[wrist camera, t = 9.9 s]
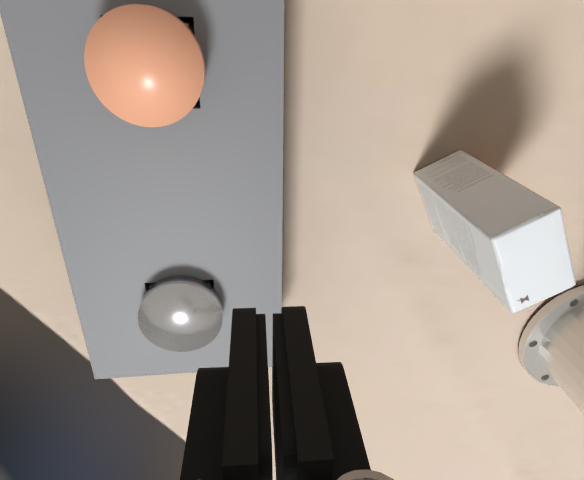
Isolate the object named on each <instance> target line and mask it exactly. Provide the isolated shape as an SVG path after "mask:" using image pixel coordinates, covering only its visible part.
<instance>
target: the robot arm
mask: <svg viewBox="0 0 584 480" xmlns="http://www.w3.org/2000/svg"><path fill="white" fill-rule="evenodd" d="M518 352H519V359H520V362H521V364H522V366H523V367H524V368H525V370H526V371H527V372H528V374H529V375H530V376H531V377H532V378H534V379H535V380H537V381H538V382H541V383H544V384H548V385H555V386H560V387H561V388H562V389H563V390H564V392H565V393H566V394H567V395H568V396H569V397H570V398H571V400H572V401H573V402H574V403H575V404H576V405H577V407H578V408H579V409H580V410H581V411H582V412H583V413H584V285H582V286H579V287H576V288H574V289H571V290H568V291H566V292H565V293H563V294H561V295H559V296H557V297H555V298H554V299H553V300H551V301H550V302H548V303H547V304H546V305H545V306H543V307H542V308H541V309H540V310H539V311H538V312H537V313H536V314H535V315H534V316H533V318H532V319H531V320H530V321H529V323H528V324H527V326H526V328H525V329H524V331H523V334H522V336H521V339H520V342H519V348H518ZM272 404H273V426H274V445H275V463H276V480H394V479H392V478H390V477H388V476H386V475H384V474H382V473H381V472H376V471H372V470H371V469H370V465H369V462H368V458H367V454H366V450H365V447H364V443H363V439H362V435H361V432H360V428H359V424H358V420H357V417H356V413H355V409H354V405H353V402H352V398H351V394H350V391H349V387H348V383H347V379H346V376H345V372H344V368H343V366H342V364H341V362H332V363H316V361H315V356H314V350H313V345H312V340H311V335H310V329H309V324H308V319H307V314H306V309H305V306H298V307H282V308H281V313H273V350H272ZM180 480H272V442H271V421H270V400H269V379H268V358H267V337H266V316H265V314H256V308H233V310H232V325H231V340H230V355H229V367H211V368H198V371H197V375H196V381H195V388H194V394H193V400H192V407H191V413H190V419H189V426H188V432H187V438H186V445H185V451H184V458H183V464H182V471H181V477H180Z"/></svg>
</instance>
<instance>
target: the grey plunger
mask: <svg viewBox="0 0 584 480" xmlns="http://www.w3.org/2000/svg"><path fill="white" fill-rule="evenodd" d="M222 319H223V305H222V301H221V298H220V296H219V294H218V293H217V291H216V290H215V289H214V280H201V279H198V278H195V277H191V276H171V277H167V278H164V279H161V280H159V281H157V282H152V283H150V286H149V289H148V290H147V291H146V292H145V294H144V296H143V298H142V301H141V304H140V307H139V311H138V325H139V328H140V330H141V332H142V333H143V335H144V336H145V337H146V338H147V339H148V340H149V341H150V342H151V343H153V344H154V345H156V346H158V347H160V348H162V349H165V350H169V351H174V352H187V351H193V350H197V349H200V348H202V347H204V346H206V345H208V344H209V343H210V342H212V341H213V340H214V339H215V338H216V336H217V335H218V333H219V332H220V329H221V327H222Z"/></svg>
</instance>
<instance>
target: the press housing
mask: <svg viewBox="0 0 584 480" xmlns="http://www.w3.org/2000/svg"><path fill="white" fill-rule="evenodd" d="M129 4H142V5H151V6H155V7H159V8H161V9H164V10H166V11H168V12H170V13H172V14H173V15H175V16H176V17H178V18H179V19H180V20H181V21H182V22H194V32H195V37H196V39H197V41H198V43H199V45H200V47H201V50H202V53H203V56H204V61H205V81H204V86H203V89H202V92H201V94H200V97H199V99H198V101H197V103H196V104H195V106H194V107H193V108H192V110H191V111H190V112H189V113H188V114H187V115H186V116H184V117H183V118H182V119H180V120H179V121H177V122H175V123H172V124H170V125H167V126H162V127H143V126H138V125H134V124H131V123H129V122H126V121H124V120H122V119H121V118H119V117H117V116H116V115H114V114H113V113H112V112H110V111H109V110H108V109H107V108H106V107H105V106H104V105H103V104H102V103H101V101H100V100H99V99H98V97H97V96H96V95H95V93H94V91H93V89H92V87H91V86H90V83H89V81H88V78H87V74H86V70H85V64H84V51H85V44H86V41H87V37H88V35H89V33H90V31H91V29H92V27H93V26H94V24H95V23H96V22H97V21H98V20H99V19H100V17H102V16H103V15H104V14H106V13H107V12H109V11H110V10H112V9H114V8H117V7H120V6H124V5H129ZM0 14H1V18H2V21H3V25H4V29H5V33H6V37H7V41H8V45H9V48H10V52H11V56H12V60H13V64H14V68H15V72H16V76H17V79H18V83H19V87H20V91H21V95H22V99H23V103H24V106H25V110H26V114H27V118H28V122H29V126H30V130H31V134H32V137H33V141H34V145H35V149H36V153H37V157H38V161H39V165H40V168H41V172H42V176H43V180H44V184H45V188H46V192H47V195H48V199H49V203H50V207H51V211H52V215H53V219H54V223H55V226H56V230H57V234H58V238H59V242H60V246H61V250H62V253H63V257H64V261H65V265H66V269H67V273H68V277H69V281H70V284H71V288H72V292H73V296H74V300H75V304H76V308H77V311H78V315H79V319H80V323H81V327H82V331H83V335H84V339H85V342H86V346H87V350H88V354H89V358H90V362H91V365H92V369H93V373H94V377H95V379H105V378H119V377H133V376H148V375H162V374H176V373H190V372H197V371H198V368H211V367H229V355H230V340H231V325H232V310H233V308H256V314H265V316H266V337H267V358H268V367H272V350H273V313H281V308H282V223H283V109H284V0H0ZM171 276H191V277H195V278H198V279H201V280H214V289H215V290H216V291H217V293H218V294H219V296H220V298H221V301H222V305H223V319H222V327H221V329H220V332H219V333H218V335H217V336H216V338H215V339H214V340H213V341H212V342H210V343H209V344H208V345H206V346H204V347H202V348H200V349H197V350H193V351H187V352H174V351H169V350H165V349H162V348H160V347H158V346H156V345H154V344H153V343H151V342H150V341H149V340H148V339H147V338H146V337H145V336H144V335H143V333H142V332H141V330H140V328H139V325H138V311H139V307H140V304H141V301H142V298H143V296H144V294H145V292H146V291H147V290H148V289H149V286H150V283H152V282H157V281H159V280H161V279H164V278H167V277H171Z"/></svg>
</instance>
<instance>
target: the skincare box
mask: <svg viewBox="0 0 584 480" xmlns="http://www.w3.org/2000/svg"><path fill="white" fill-rule="evenodd" d="M414 177H415V179H416V182H417V185H418V188H419V191H420V193H421V196H422V199H423V202H424V204H425V207H426V210H427V213H428V215H429V218H430V221H431V224H432V226H433V229H434V231H435V232H436V233H437V235H438V236H439V237H440V238H441V239H442V240H443V241H444V242H445V243H446V244H447V245H448V246H449V247H450V248H451V249H452V250H453V252H454V253H455V254H456V255H457V256H458V257H459V258H460V259H461V260H462V261H463V262H464V263H465V264H466V265H467V266H468V267H469V268H470V269H471V270H472V272H473V273H474V274H475V275H476V276H477V277H478V278H479V279H480V280H481V281H482V282H483V283H484V284H485V285H486V286H487V288H488V289H489V290H490V291H491V292H492V293H493V294H494V295H495V296H496V297H497V298H498V299H499V300H500V302H501V303H502V304H503V305H504V306H505V307H506V308H507V309H508V310H509V311H510V312H511V313H516V312H518V311H520V310H522V309H525V308H527V307H529V306H531V305H533V304H536V303H538V302H540V301H543V300H545V299H547V298H550V297H552V296H554V295H556V294H559V293H561V292H563V291H565V290H567V289H569V288H571V287H573V286H575V285H576V282H575V277H574V271H573V266H572V261H571V256H570V252H569V247H568V242H567V238H566V233H565V228H564V223H563V217H562V212H561V208H560V207H559V206H557V205H555V204H554V203H552V202H550V201H549V200H547V199H545V198H543V197H542V196H540V195H538V194H536V193H535V192H533V191H531V190H530V189H528V188H526V187H524V186H523V185H521V184H519V183H518V182H516V181H514V180H512V179H510V178H509V177H507V176H505V175H504V174H502V173H500V172H499V171H497V170H495V169H493V168H492V167H490V166H488V165H486V164H485V163H483V162H481V161H480V160H478V159H476V158H474V157H473V156H471V155H469V154H467V153H466V152H464V151H462V150H459V151H456V152H454V153H452V154H450V155H448V156H446V157H444V158H442V159H440V160H438V161H436V162H434V163H432V164H430V165H428V166H426V167H424V168H422V169H420V170H418V171H416V172H414Z"/></svg>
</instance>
